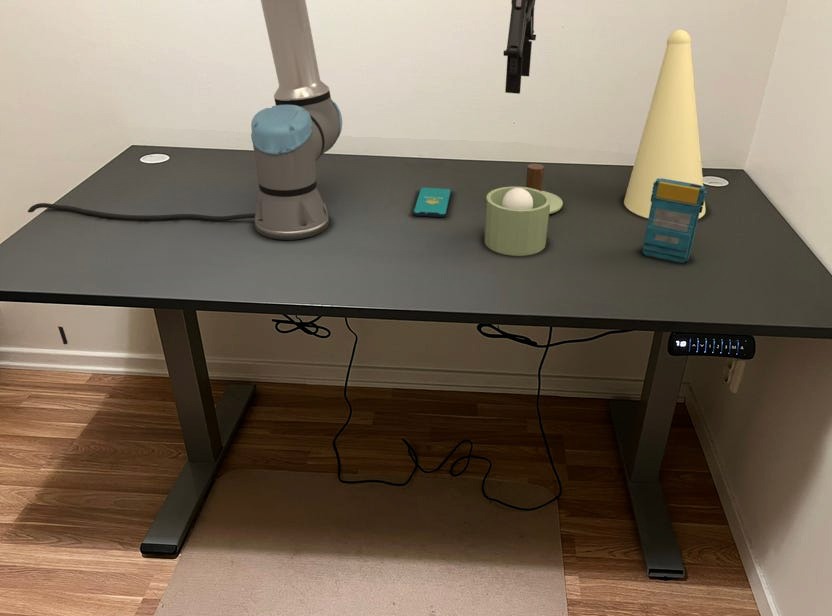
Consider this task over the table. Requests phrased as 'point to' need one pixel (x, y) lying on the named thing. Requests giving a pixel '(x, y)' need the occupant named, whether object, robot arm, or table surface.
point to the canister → (516, 224)
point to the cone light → (668, 130)
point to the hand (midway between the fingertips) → (517, 84)
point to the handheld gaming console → (673, 219)
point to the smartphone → (432, 202)
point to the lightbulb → (517, 199)
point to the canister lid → (535, 182)
